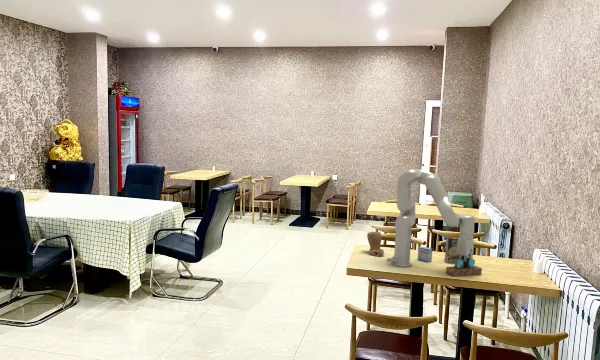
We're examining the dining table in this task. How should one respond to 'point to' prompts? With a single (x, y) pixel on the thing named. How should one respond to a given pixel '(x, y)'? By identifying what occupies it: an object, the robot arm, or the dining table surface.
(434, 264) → the dining table surface
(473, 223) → the robot arm
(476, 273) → the brown wooden candle holder
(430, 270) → the dining table surface
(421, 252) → the medicine box
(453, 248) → the coffee box
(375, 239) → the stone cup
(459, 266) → the clip
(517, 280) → the dining table surface
